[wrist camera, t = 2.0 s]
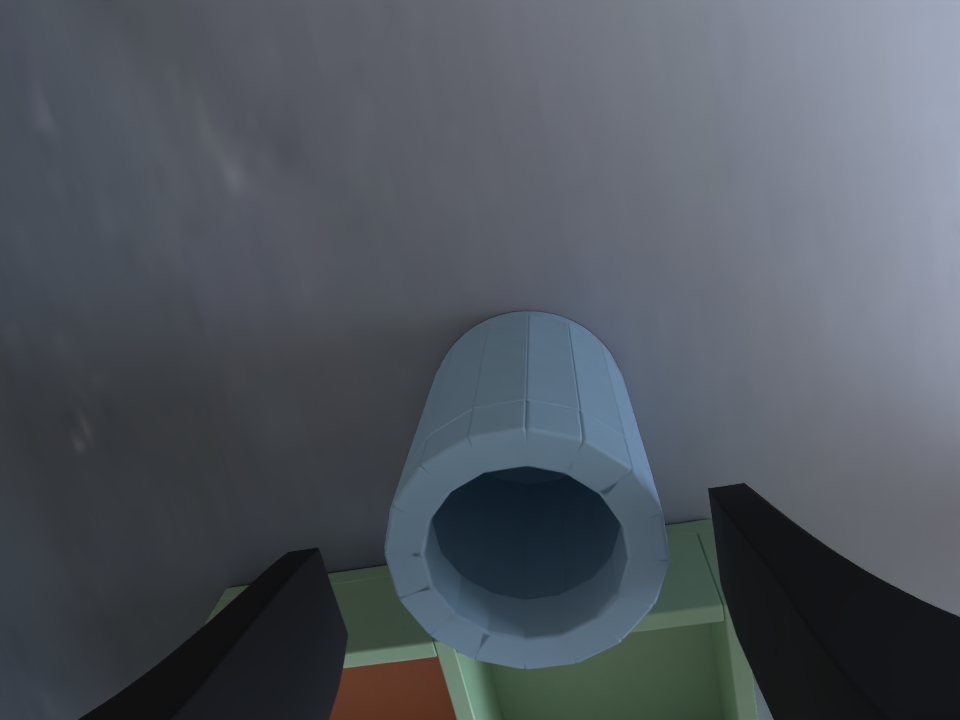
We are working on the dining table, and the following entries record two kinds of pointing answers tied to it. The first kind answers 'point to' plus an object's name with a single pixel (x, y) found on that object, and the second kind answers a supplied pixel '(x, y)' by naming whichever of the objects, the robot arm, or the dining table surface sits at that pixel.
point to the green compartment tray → (557, 689)
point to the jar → (527, 499)
